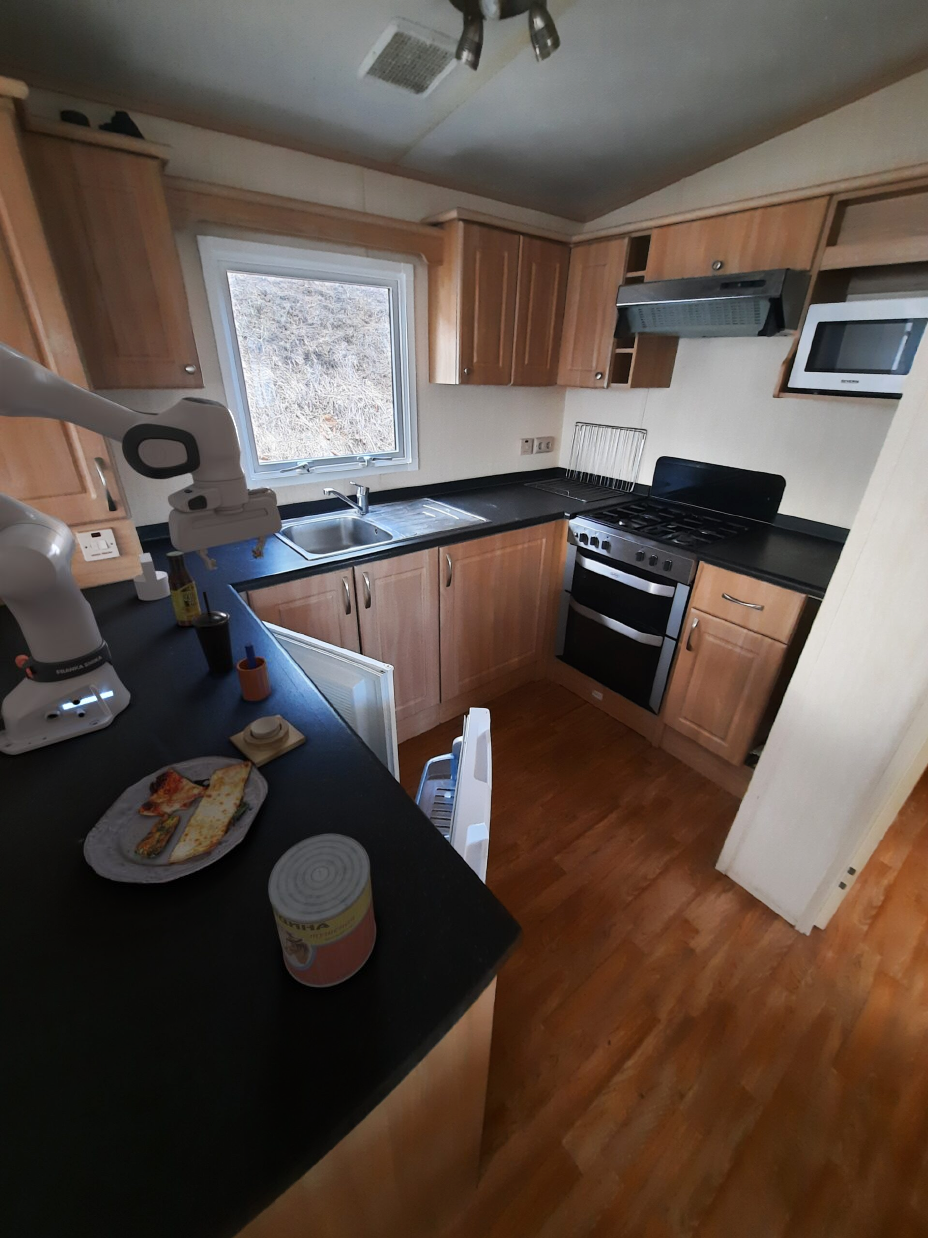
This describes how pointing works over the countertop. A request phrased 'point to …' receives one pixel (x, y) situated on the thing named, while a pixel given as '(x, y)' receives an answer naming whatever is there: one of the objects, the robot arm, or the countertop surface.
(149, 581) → the base with upright slab
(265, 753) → the wooden square stand base
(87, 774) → the countertop surface
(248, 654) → the rod
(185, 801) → the food plate
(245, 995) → the countertop surface
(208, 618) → the drinking cup
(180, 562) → the sauce bottle
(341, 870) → the canned food
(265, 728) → the face circle
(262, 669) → the pen pot
